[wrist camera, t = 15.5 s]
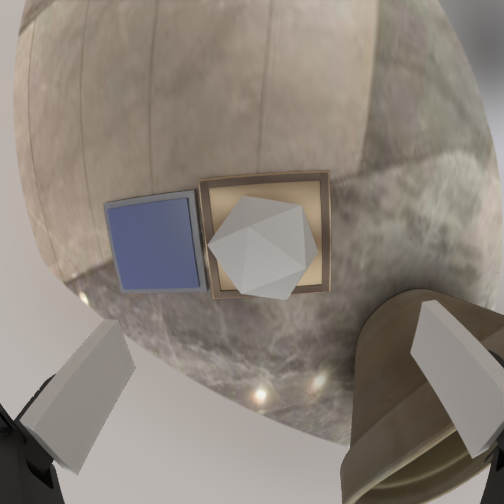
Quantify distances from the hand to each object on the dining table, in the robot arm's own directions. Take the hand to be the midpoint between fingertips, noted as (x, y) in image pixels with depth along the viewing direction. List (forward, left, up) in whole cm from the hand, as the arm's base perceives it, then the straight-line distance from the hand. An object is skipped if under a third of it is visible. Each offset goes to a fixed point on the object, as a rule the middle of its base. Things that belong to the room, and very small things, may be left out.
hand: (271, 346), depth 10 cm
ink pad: (0, -12, -19) cm, 22 cm away
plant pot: (+15, +18, -19) cm, 30 cm away
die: (0, 0, -18) cm, 18 cm away
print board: (0, 0, -19) cm, 19 cm away
